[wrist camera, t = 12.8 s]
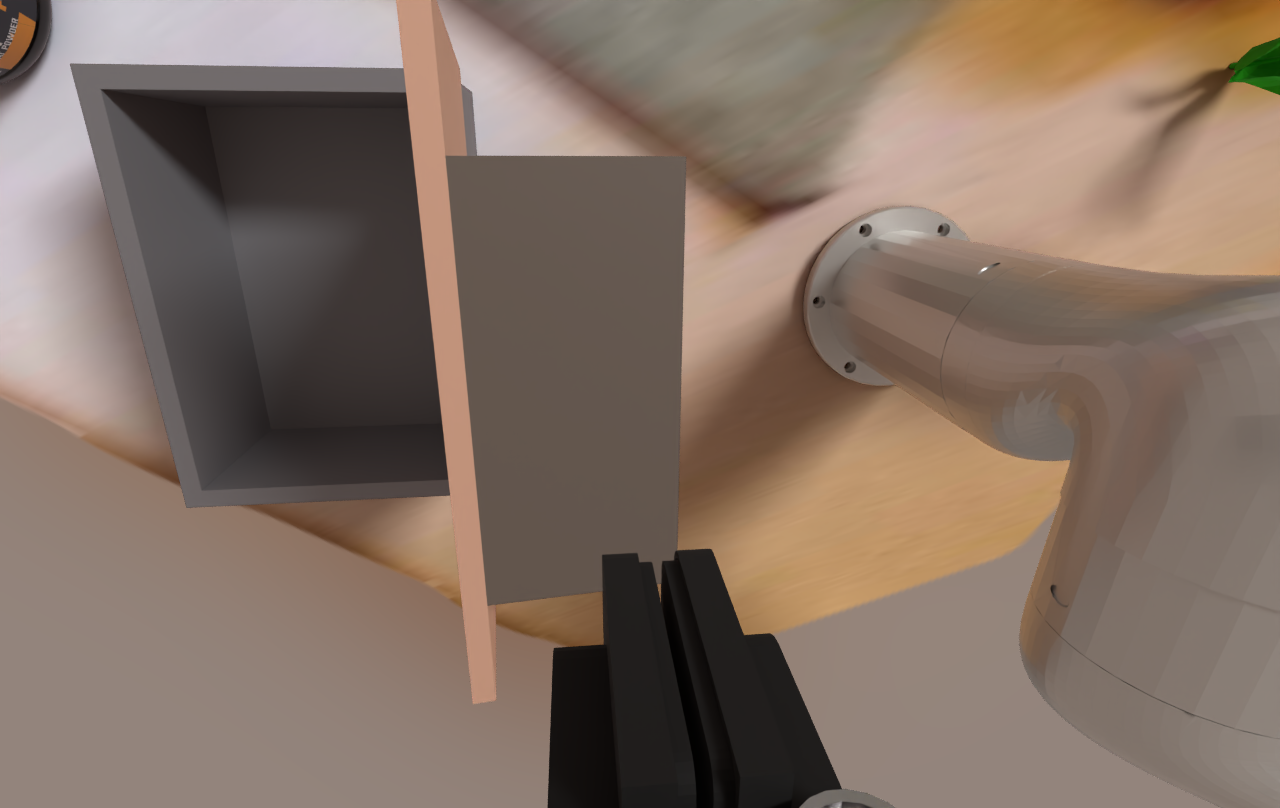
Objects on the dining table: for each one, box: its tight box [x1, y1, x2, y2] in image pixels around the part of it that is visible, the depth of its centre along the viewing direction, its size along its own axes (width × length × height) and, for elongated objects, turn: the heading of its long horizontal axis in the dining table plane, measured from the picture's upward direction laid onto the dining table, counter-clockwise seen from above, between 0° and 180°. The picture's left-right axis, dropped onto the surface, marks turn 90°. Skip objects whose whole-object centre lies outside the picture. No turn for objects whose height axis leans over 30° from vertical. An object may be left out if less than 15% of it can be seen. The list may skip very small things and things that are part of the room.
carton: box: [70, 64, 477, 508], centre depth 38 cm, size 16×22×10 cm
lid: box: [396, 0, 686, 704], centre depth 27 cm, size 16×22×7 cm
